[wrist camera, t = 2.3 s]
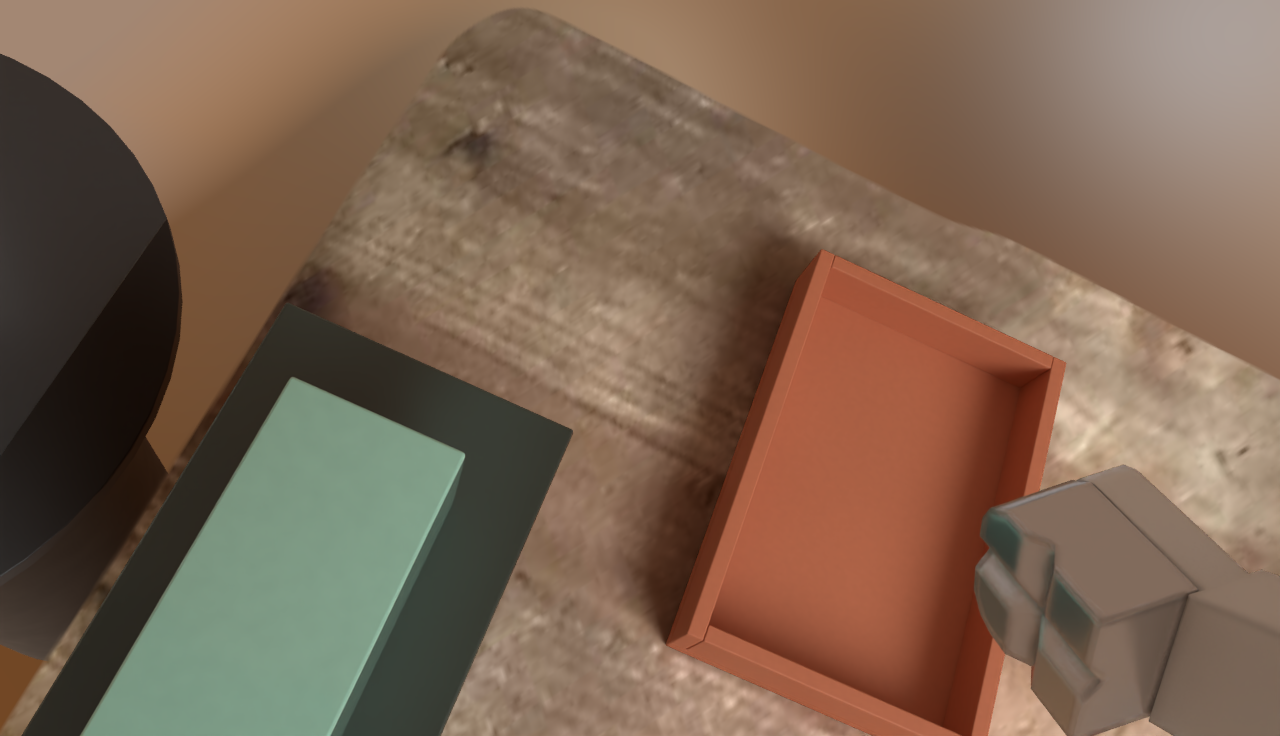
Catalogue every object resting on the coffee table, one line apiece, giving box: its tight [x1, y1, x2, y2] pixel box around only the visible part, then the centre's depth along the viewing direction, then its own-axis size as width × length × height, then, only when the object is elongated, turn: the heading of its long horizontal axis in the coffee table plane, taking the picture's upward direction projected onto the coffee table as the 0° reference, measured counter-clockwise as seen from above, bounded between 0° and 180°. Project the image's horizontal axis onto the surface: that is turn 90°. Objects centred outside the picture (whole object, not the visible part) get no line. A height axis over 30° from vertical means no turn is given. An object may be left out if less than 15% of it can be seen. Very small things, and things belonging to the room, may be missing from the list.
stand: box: [22, 303, 573, 736], centre depth 35 cm, size 8×12×24 cm, turn 159°
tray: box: [666, 249, 1066, 736], centre depth 53 cm, size 15×22×4 cm
